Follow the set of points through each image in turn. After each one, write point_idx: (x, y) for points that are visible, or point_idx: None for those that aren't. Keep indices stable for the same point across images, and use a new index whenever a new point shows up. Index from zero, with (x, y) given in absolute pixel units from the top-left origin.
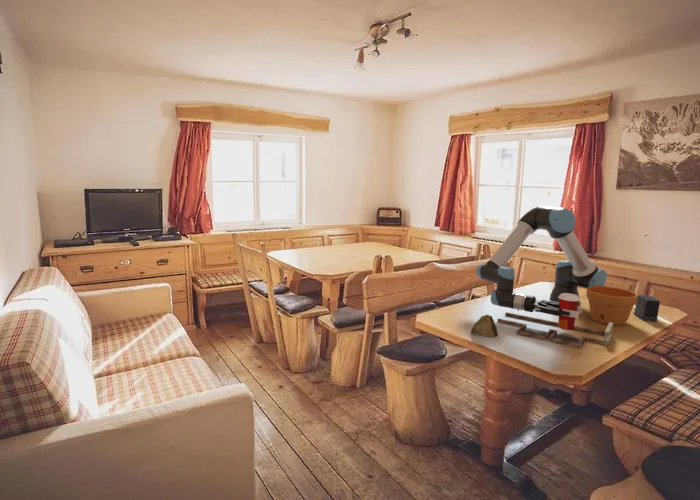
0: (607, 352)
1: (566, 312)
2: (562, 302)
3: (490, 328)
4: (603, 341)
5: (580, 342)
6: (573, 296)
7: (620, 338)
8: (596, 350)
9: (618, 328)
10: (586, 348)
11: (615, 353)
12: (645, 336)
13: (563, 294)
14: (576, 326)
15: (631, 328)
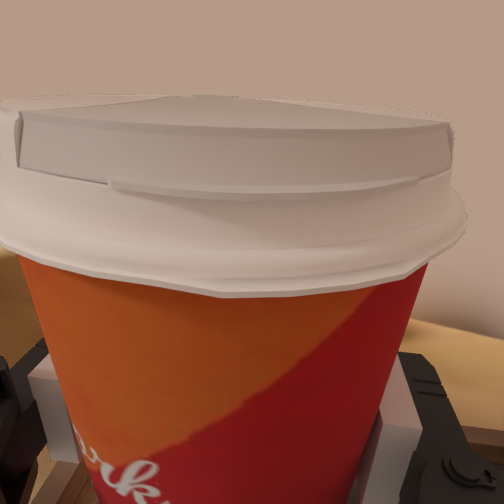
0: (433, 342)
1: (441, 389)
2: (409, 313)
3: None
4: None
5: (492, 436)
6: (278, 102)
7: None
8: (459, 377)
9: (17, 293)
10: (486, 421)
11: (412, 321)
12: None
13: (201, 115)
14: (70, 467)
15: (14, 265)
